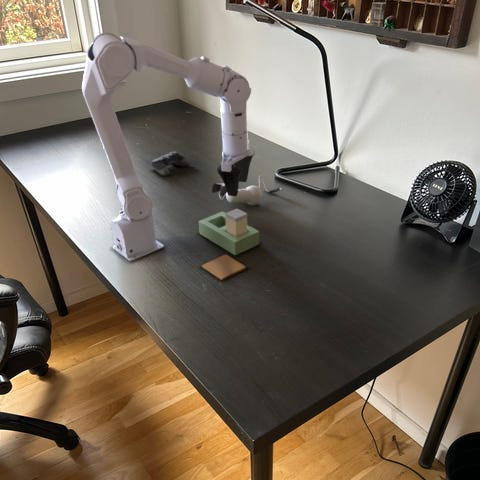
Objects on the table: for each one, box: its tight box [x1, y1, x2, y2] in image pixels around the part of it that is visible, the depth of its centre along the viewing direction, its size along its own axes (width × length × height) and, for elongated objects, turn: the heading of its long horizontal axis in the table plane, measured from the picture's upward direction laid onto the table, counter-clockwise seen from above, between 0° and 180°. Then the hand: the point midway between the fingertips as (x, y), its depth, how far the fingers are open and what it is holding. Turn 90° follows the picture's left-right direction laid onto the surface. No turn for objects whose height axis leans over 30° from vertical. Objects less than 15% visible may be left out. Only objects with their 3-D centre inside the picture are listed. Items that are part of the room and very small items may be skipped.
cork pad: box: [201, 253, 247, 281], centre depth 110 cm, size 7×7×1 cm
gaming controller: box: [149, 151, 191, 177], centre depth 152 cm, size 12×8×5 cm, turn 143°
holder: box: [198, 211, 260, 256], centre depth 119 cm, size 8×14×4 cm, turn 41°
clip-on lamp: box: [210, 174, 283, 206], centre depth 135 cm, size 12×6×18 cm
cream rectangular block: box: [225, 208, 248, 238], centre depth 116 cm, size 4×4×8 cm
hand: (237, 188), depth 118 cm, fingers open, 7 cm apart
